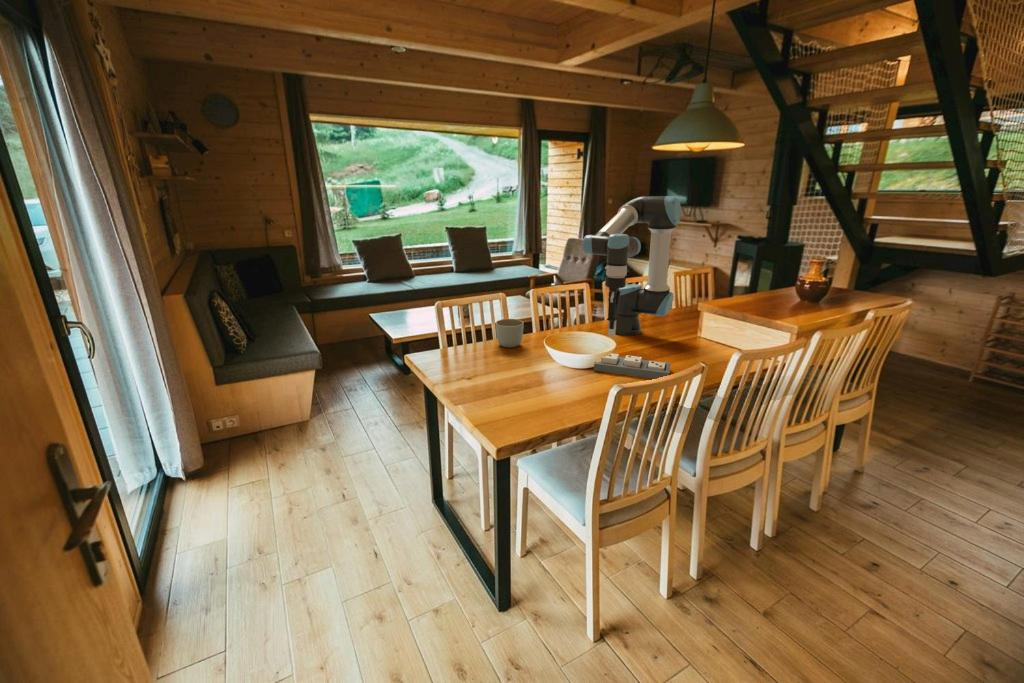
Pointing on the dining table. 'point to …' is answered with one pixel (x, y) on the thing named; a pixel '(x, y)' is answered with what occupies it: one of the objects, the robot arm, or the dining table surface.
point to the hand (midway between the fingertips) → (611, 336)
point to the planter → (509, 332)
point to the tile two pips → (632, 361)
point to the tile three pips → (656, 365)
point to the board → (632, 369)
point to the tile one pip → (610, 359)
